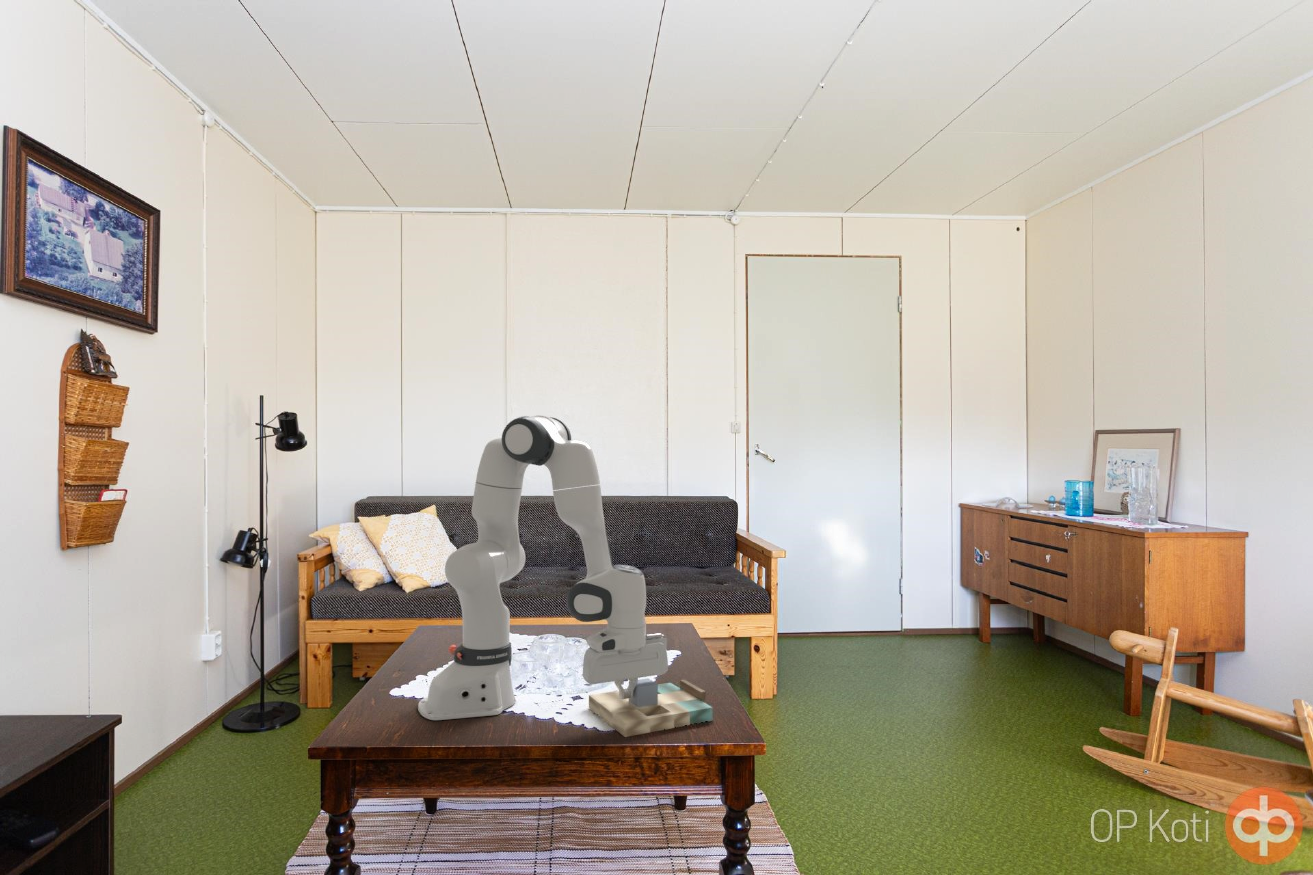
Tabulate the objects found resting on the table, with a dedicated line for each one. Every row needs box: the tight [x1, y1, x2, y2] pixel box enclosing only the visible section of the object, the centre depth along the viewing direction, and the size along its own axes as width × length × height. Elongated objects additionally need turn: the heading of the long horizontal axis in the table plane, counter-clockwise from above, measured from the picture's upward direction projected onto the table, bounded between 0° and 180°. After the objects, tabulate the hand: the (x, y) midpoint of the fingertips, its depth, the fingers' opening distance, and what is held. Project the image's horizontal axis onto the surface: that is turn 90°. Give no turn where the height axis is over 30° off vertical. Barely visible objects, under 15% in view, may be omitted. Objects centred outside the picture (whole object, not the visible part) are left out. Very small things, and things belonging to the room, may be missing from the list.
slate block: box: [628, 678, 658, 707], centre depth 175 cm, size 5×5×4 cm
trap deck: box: [588, 679, 714, 738], centre depth 176 cm, size 23×20×5 cm
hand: (626, 697), depth 172 cm, fingers closed
